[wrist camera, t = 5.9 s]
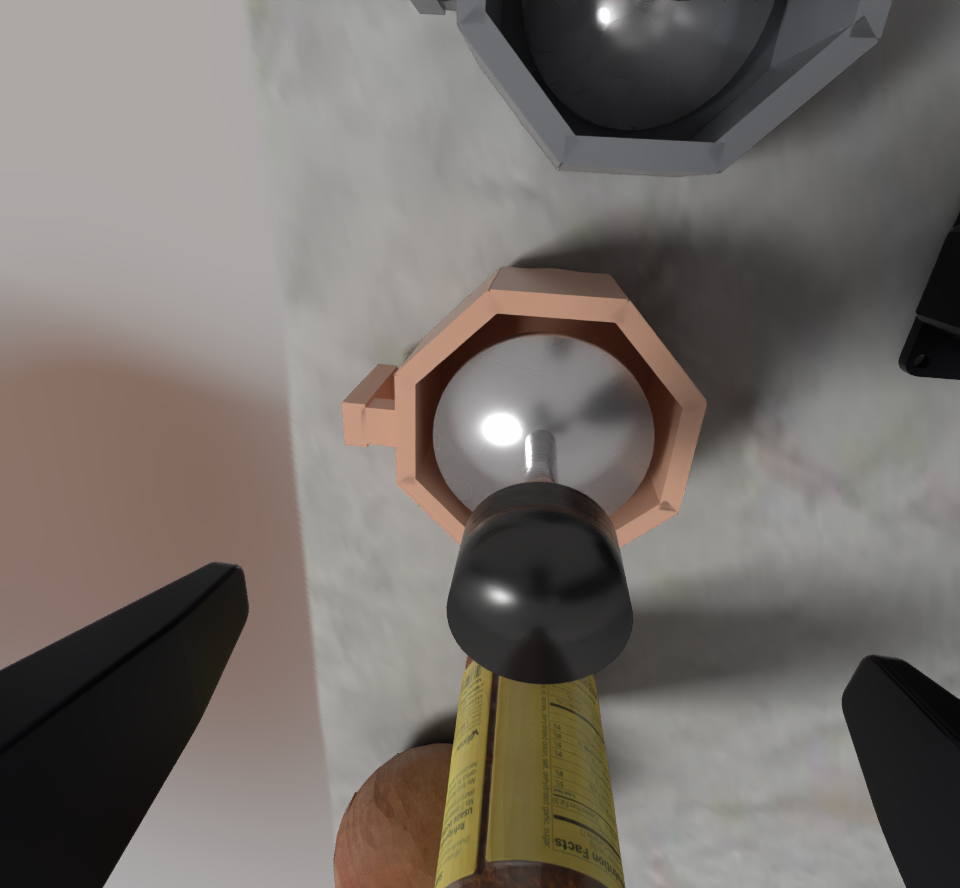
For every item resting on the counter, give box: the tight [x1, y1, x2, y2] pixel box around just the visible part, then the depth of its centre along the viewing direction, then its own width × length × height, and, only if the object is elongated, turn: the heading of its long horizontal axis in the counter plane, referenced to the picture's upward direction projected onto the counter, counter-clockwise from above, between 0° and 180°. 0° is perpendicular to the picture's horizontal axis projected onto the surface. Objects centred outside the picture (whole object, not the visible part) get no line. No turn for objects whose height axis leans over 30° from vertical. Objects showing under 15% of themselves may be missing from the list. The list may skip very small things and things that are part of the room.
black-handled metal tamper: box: [433, 331, 654, 684], centre depth 13 cm, size 6×6×8 cm
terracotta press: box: [342, 267, 707, 548], centre depth 18 cm, size 10×9×5 cm
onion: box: [334, 743, 453, 888], centre depth 26 cm, size 10×9×10 cm
